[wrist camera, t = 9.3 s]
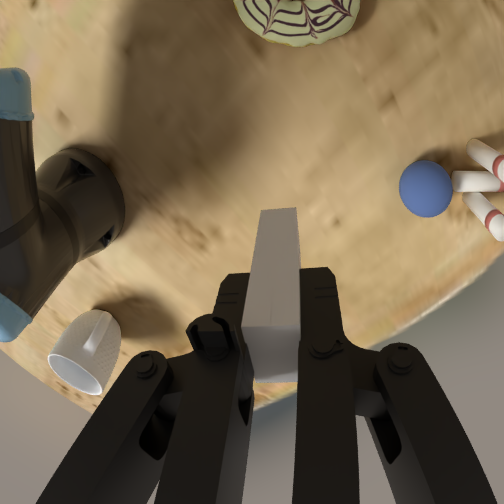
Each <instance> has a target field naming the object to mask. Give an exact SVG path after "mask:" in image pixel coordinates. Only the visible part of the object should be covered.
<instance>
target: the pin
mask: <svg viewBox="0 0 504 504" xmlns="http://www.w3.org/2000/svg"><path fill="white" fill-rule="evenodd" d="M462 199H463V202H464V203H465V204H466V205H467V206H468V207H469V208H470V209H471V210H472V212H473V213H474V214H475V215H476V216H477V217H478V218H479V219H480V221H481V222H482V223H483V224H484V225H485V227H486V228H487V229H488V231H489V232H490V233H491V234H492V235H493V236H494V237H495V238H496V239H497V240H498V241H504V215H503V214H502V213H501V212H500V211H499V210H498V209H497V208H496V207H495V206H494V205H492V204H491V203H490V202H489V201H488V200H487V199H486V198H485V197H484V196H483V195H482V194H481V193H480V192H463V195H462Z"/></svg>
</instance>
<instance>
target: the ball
mask: <svg viewBox="0 0 504 504" xmlns="http://www.w3.org/2000/svg"><path fill="white" fill-rule="evenodd" d="M399 192H400V196H401V199H402V201H403V203H404V205H405V206H406V207H407V208H408V209H409V210H410V211H411V212H412V213H414V214H415V215H417V216H420V217H434V216H437V215H439V214H441V213H442V212H443V211H445V210H446V208H447V207H448V205H449V204H450V202H451V199H452V194H453V187H452V182H451V179H450V177H449V175H448V173H447V172H446V171H445V169H444V168H443V167H441V166H440V165H439V164H437V163H435V162H432V161H428V160H421V161H416V162H414V163H412V164H410V165H409V166H408V167H407V168H406V169H405V170H404V172H403V173H402V176H401V178H400V182H399Z"/></svg>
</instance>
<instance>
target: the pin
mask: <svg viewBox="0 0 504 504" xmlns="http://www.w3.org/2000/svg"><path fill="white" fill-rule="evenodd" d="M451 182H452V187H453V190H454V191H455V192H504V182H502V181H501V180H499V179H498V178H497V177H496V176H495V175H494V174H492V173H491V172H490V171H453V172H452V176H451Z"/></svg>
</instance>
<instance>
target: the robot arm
mask: <svg viewBox="0 0 504 504" xmlns="http://www.w3.org/2000/svg"><path fill="white" fill-rule="evenodd" d="M33 119H34V113H33V112H32V103H31V82H30V78H29V76H28V74H27V73H26V72H25V71H24V70H22V69H20V68H1V69H0V342H11V341H13V340H15V339H16V338H17V337H18V336H19V334H20V333H21V332H22V331H23V329H24V328H25V327H26V326H27V325H28V324H30V323H31V322H32V321H33V318H34V317H35V315H36V314H37V313H38V311H39V310H40V309H41V307H42V306H43V305H44V303H45V302H46V301H47V299H48V298H49V297H50V295H51V294H52V293H53V291H54V290H55V289H56V287H57V286H58V285H59V284H60V282H61V281H62V280H63V279H64V277H65V276H66V275H67V274H68V272H69V271H70V270H71V269H72V267H73V266H74V265H75V264H76V263H78V262H80V261H82V260H84V259H86V258H88V257H90V256H92V255H94V254H96V253H98V252H100V251H102V250H104V249H105V248H106V247H108V246H109V245H110V244H111V242H112V241H113V240H114V239H115V238H116V237H117V235H118V234H119V232H120V231H121V229H122V226H123V222H124V216H125V206H124V200H123V195H122V192H121V189H120V187H119V184H118V182H117V180H116V179H115V177H114V175H113V174H112V172H111V171H110V170H109V168H108V167H107V166H106V165H105V164H104V163H103V162H102V161H101V160H100V159H98V158H97V157H95V156H94V155H92V154H90V153H88V152H86V151H83V150H79V149H66V150H62V151H60V152H58V153H56V154H55V155H53V156H51V157H49V158H48V159H47V160H45V161H44V162H43V163H42V164H41V165H40V167H39V168H38V169H37V171H36V172H35V163H34V150H33V132H32V120H33ZM186 334H187V336H188V338H189V340H190V343H191V345H192V347H193V349H194V351H192V352H190V353H188V354H185V355H181V356H177V357H173V358H168V359H166V358H165V357H164V355H163V354H161V353H159V352H158V351H151V350H149V351H145V352H141V353H139V354H137V355H136V356H134V357H133V358H132V359H131V360H130V361H129V362H128V364H127V365H126V367H125V368H124V369H123V371H122V372H121V374H120V375H119V377H118V378H117V380H116V381H115V382H114V384H113V385H112V387H111V388H110V390H109V391H108V393H107V394H106V396H105V397H104V398H103V400H102V401H101V403H100V404H99V406H98V407H97V409H96V410H95V412H94V413H93V415H92V416H91V418H90V419H89V421H88V422H87V424H86V425H85V427H84V428H83V430H82V431H81V433H80V434H79V436H78V437H77V439H76V441H75V442H74V443H73V445H72V446H71V448H70V450H69V451H68V453H67V454H66V456H65V457H64V459H63V461H62V462H61V464H60V465H59V467H58V468H57V470H56V471H55V473H54V475H53V477H52V478H51V479H50V481H49V483H48V484H47V486H46V487H45V489H44V491H43V492H42V494H41V496H40V497H39V499H38V500H37V502H36V504H147V502H148V500H149V498H150V496H151V494H152V493H153V491H154V489H155V487H156V485H157V483H158V481H159V480H160V481H159V485H158V489H157V493H156V497H155V501H154V504H242V496H243V489H244V488H243V487H244V481H245V473H246V465H247V457H248V449H249V441H250V433H251V432H250V431H251V424H252V415H253V407H254V391H253V388H252V387H253V379H254V378H255V381H256V383H275V382H298V384H297V421H296V444H295V463H294V464H295V465H294V482H293V496H292V504H360V500H359V465H358V445H357V430H356V417H355V415H359V416H364V417H365V420H366V422H367V425H368V427H369V430H370V433H371V435H372V438H373V441H374V443H375V446H376V449H377V451H378V454H379V457H380V459H381V462H382V465H383V467H384V470H385V473H386V476H387V478H388V481H389V484H390V487H391V490H392V493H393V495H394V498H395V501H396V504H497V501H496V499H495V496H494V494H493V492H492V489H491V487H490V484H489V482H488V480H487V477H486V475H485V473H484V471H483V468H482V466H481V464H480V462H479V460H478V458H477V455H476V454H475V451H474V449H473V447H472V445H471V443H470V441H469V439H468V437H467V435H466V433H465V431H464V429H463V427H462V425H461V423H460V421H459V419H458V417H457V416H456V413H455V412H454V410H453V408H452V406H451V404H450V402H449V400H448V399H447V397H446V395H445V393H444V391H443V390H442V388H441V386H440V384H439V382H438V381H437V379H436V377H435V375H434V374H433V372H432V370H431V369H430V367H429V365H428V363H427V362H426V360H425V358H424V357H423V355H422V354H421V353H420V352H419V351H418V349H417V348H415V347H413V346H411V345H410V344H406V343H400V342H399V343H393V344H389V345H388V346H386V347H384V348H383V349H382V350H381V351H380V352H378V351H373V350H367V349H363V348H360V347H358V346H356V345H354V344H352V343H351V342H350V341H349V340H348V339H347V337H346V336H345V334H344V331H343V325H342V318H341V311H340V305H339V298H338V292H337V285H336V279H335V275H334V274H333V273H332V272H331V270H330V269H329V268H328V267H319V268H304V269H301V258H300V245H299V233H298V221H297V210H296V207H295V208H282V209H269V210H261V213H260V219H259V225H258V231H257V237H256V243H255V248H254V254H253V260H252V266H251V272H250V273H235V274H228V275H227V277H226V278H225V279H224V280H223V281H222V282H221V284H220V288H219V292H218V296H217V299H216V304H215V306H214V310H213V313H212V314H205V315H203V316H200V317H198V318H196V319H195V320H194V321H193V322H191V323H190V324H189V326H188V327H187V329H186Z"/></svg>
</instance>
